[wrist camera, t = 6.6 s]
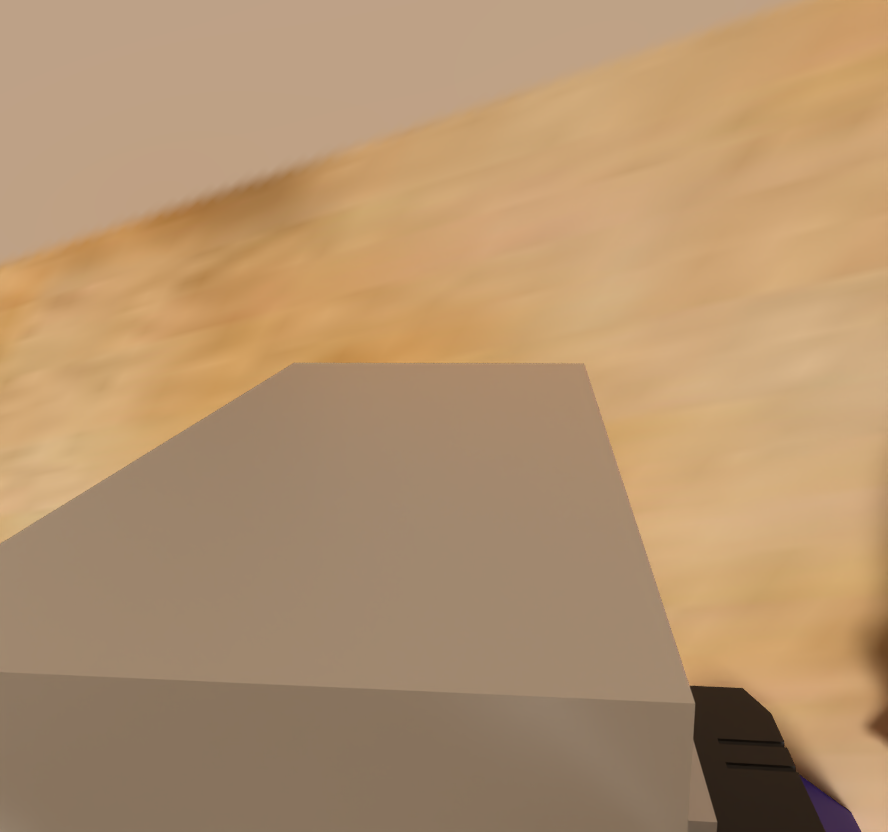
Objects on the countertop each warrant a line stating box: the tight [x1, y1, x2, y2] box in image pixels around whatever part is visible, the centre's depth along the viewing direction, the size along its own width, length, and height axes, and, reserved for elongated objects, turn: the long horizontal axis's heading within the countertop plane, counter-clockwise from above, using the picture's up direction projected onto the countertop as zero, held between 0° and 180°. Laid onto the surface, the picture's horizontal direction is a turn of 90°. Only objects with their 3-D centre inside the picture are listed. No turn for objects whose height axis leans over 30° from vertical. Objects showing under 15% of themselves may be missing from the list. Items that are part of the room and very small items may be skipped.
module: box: [0, 363, 695, 832], centre depth 10 cm, size 8×5×10 cm, turn 1°
